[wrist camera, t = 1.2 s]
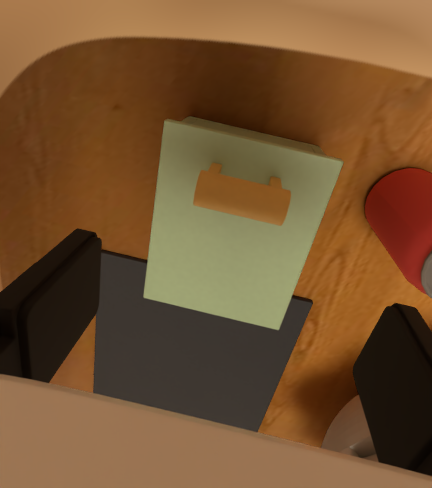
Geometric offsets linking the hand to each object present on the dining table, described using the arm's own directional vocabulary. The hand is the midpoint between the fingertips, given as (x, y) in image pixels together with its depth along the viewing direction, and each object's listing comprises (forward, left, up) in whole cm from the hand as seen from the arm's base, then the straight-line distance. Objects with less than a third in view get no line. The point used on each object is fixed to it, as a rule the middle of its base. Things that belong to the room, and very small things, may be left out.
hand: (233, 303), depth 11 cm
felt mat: (+16, -20, -22) cm, 34 cm away
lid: (+3, -4, -14) cm, 15 cm away
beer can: (+11, +9, -22) cm, 26 cm away
